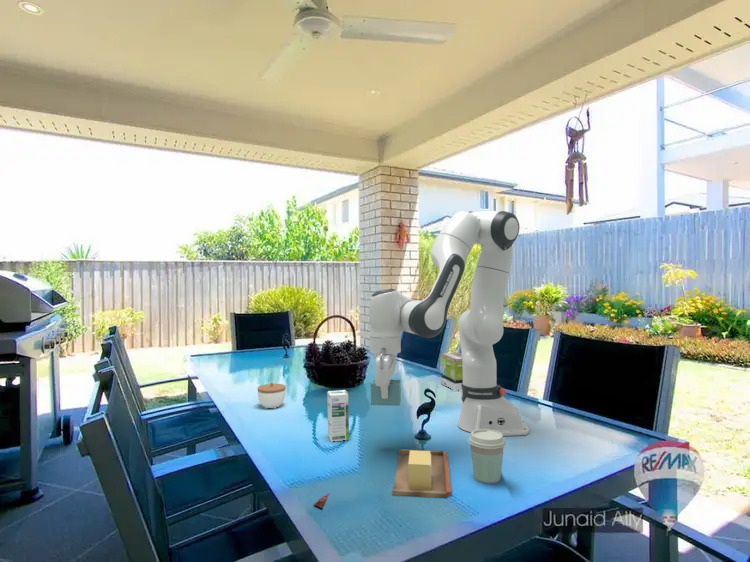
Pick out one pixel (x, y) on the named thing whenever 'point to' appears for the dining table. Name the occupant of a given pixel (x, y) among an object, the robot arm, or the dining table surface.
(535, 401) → the dining table surface
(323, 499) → the snack package
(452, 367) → the tea box
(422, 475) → the ochre box
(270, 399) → the lidded jar
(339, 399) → the syrup box
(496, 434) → the coffee cup
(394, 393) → the teal box
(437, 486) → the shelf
